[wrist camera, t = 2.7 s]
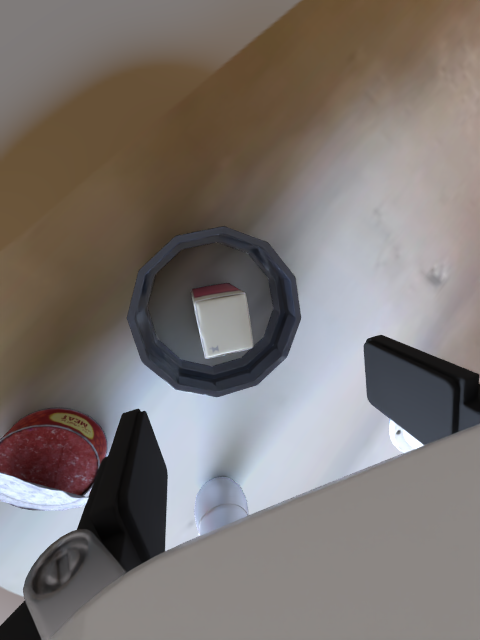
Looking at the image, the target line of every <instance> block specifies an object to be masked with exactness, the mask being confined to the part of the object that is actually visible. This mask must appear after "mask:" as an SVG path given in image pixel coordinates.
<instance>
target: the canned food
mask: <svg viewBox="0 0 480 640" xmlns="http://www.w3.org/2000/svg"><path fill="white" fill-rule="evenodd" d="M106 452H107V440H106V437H105V434H104V432H103V430H102V428H101V427H100V426H99V425H98V424H97V422H96V421H95V420H93V419H92V418H90V417H89V416H87V415H85V414H83V413H81V412H79V411H75V410H71V409H65V408H49V409H44V410H39V411H36V412H34V413H31V414H28V415H27V416H25V417H23V418H22V419H20V420H19V421H18V422H17V423H16V424H15V425H13V427H12V428H11V429H10V430H9V431H8V432H7V433H6V434H5V435H4V436H3V437H2V438H1V439H0V501H2V502H6V503H9V504H11V505H13V506H16V507H19V508H22V509H28V510H42V511H45V510H67V509H70V508H79V507H81V506H83V505H85V504H86V503H87V500H88V497H85V496H84V495H85V494H86V493H87V492H88V491H89V490H90V489H91V488H92V486H93V483H94V480H95V478H96V475H97V472H98V469H99V466H100V464H101V461H102V460H103V459H104V458H105V456H106Z"/></svg>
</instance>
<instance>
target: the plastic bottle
mask: <svg viewBox="0 0 480 640" xmlns="http://www.w3.org/2000/svg"><path fill="white" fill-rule="evenodd" d="M194 515H195V520H196V525H197V529H198V533H199V535H200V536H201V535H203V534H205V533H208V532H210V531H212V530H215V529H217V528H220V527H222V526H224V525H227V524H229V523H232V522H234V521H236V520H239V519H241V518H244V517H246V516H249V515H248V505H247V500H246V497H245V494H244V492H243V490H242V488H241V487H240V485H239V484H238V483H237V482H235V481H234V480H232V479H230V478H228V477H216V478H213V479H211V480H209V481H207V482H206V483H205V484H204V485H203V486H202V487H201V489H200V490H199V492H198V494H197V496H196V501H195V509H194Z"/></svg>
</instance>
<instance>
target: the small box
mask: <svg viewBox="0 0 480 640" xmlns="http://www.w3.org/2000/svg"><path fill="white" fill-rule="evenodd" d="M191 295H192V301H193V306H194V311H195V315H196V320H197V324H198V329H199V333H200V338H201V343H202V347H203V351H204V356H205V359H210V358H214V357H219V356H223V355H228V354H232V353H236V352H240V351H244V350H247V349H251V348H253V337H252V329H251V322H250V315H249V309H248V303H247V297H246V293H245V292H243V291H241V290H239V289H238V288H236V287H234V286H233V285H231V284H229V283H224V284H218V285H211V286H206V287H200V288H196V289H192V290H191Z"/></svg>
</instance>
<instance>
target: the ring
mask: <svg viewBox="0 0 480 640" xmlns="http://www.w3.org/2000/svg"><path fill="white" fill-rule="evenodd" d="M211 243H219V244H222V245H225V246H227V247H230V248H233V249H236V250H239V251H242V252H245V253H247V254H248V255H249V256H250V257H251V258H252V259H253V261H254V262H255V263H256V264H257V265H258V267H259V268H260V269H261V270H262V271H263V273H264V274H265V275H266V276H267V277H268V280H269V286H270V292H271V298H272V304H273V311H272V314H271V317H270V320H269V323H268V325H267V328H266V331H265V334H264V337H263V338H262V339H261V340H260V341H259V342H258V343H257V344H256V345H255V346H254V347H253V348H251V349H250V350H249V351H248V352H247V353H246V354H245V355H244V356H243V357H242V358H239V359H236V360H232V361H229V362H225V363H222V364H218V365H215V366H208V365H204V364H199V363H194V362H189V361H185V360H181V359H180V358H179V357H178V356H177V355H175V354H174V353H173V352H172V351H171V350H170V349H169V348H168V347H166V346H165V345H164V344H163V343H162V342H161V341H160V340H158V338H157V335H156V332H155V329H154V326H153V322H152V319H151V316H150V313H149V310H148V304H149V300H150V296H151V292H152V289H153V285H154V281H155V277H156V274H157V273H158V272H159V271H160V270H161V269H162V268H163V267H164V266H165V265H166V264H167V263H168V262H169V261H170V260H171V259H173V258H174V257H175V256H176V255H177V254H178V253H179V252H180V251H181V250H183V249H187V248H192V247H197V246H202V245H206V244H211ZM127 320H128V323H129V326H130V329H131V332H132V335H133V338H134V341H135V344H136V347H137V349H138V352H139V355H140V358H141V361H142V362H143V363H144V364H145V365H146V366H147V367H149V368H150V369H151V370H152V371H154V372H155V373H156V374H157V375H158V376H160V377H161V378H162V379H163V380H164V381H166V382H167V383H168V384H169V385H170V386H172V387H173V388H174V389H176V390H180V391H185V392H191V393H196V394H202V395H208V396H213V397H220V396H223V395H226V394H230V393H233V392H236V391H240V390H243V389H246V388H249V387H253V386H256V385H258V384H259V383H260V382H261V381H262V380H263V379H264V378H265V377H266V376H267V375H268V374H270V373H271V372H272V371H273V370H274V369H275V368H276V367H277V366H278V365H279V364H280V363H281V362H282V361H283V360H284V359H286V358H287V356H288V353H289V350H290V348H291V345H292V342H293V340H294V337H295V334H296V331H297V329H298V326H299V323H300V320H301V314H300V307H299V300H298V293H297V285H296V278H295V276H294V275H293V273H292V272H291V271H290V270H289V268H288V267H287V266H286V265H285V263H284V262H283V261H282V259H281V258H280V257H279V256H278V254H277V253H276V252H275V251H274V249H273V248H272V247H271V245H270V244H269V243H268V242H266V241H263V240H260V239H257V238H255V237H252V236H249V235H247V234H244V233H241V232H239V231H236V230H233V229H231V228H228V227H225V226H222V227H217V228H212V229H207V230H202V231H197V232H192V233H187V234H182V235H177V236H176V237H174V238H173V239H171V240H170V241H169V242H168V243H167V244H166V245H165V246H164V247H163V248H162V249H161V250H160V251H159V252H158V253H157V254H156V255H155V256H154V257H152V258H151V259H150V260H149V261H148V262H147V263H146V264H145V265H144V266H143V267H142V268H141V269H140V270H139V271H138V275H137V279H136V283H135V287H134V291H133V295H132V299H131V303H130V307H129V311H128V315H127Z"/></svg>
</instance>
